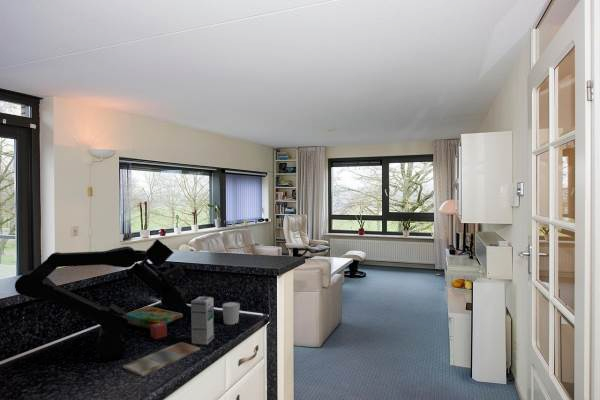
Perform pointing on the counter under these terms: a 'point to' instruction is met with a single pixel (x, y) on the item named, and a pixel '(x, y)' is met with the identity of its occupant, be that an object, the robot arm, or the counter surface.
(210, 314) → the syrup box
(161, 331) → the red die
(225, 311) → the shot glass
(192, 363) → the counter surface
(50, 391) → the counter surface
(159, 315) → the puzzle game
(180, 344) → the game board
